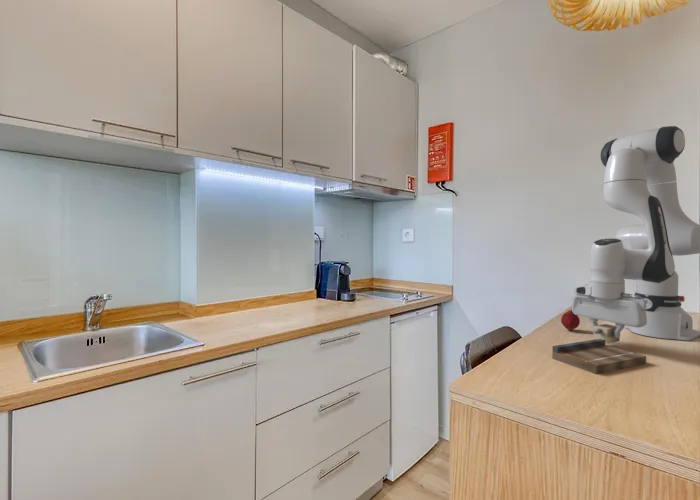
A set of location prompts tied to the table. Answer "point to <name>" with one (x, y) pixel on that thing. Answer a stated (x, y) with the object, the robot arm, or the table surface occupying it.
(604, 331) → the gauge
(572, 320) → the onion
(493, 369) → the table surface
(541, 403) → the table surface
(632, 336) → the table surface
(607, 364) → the board
